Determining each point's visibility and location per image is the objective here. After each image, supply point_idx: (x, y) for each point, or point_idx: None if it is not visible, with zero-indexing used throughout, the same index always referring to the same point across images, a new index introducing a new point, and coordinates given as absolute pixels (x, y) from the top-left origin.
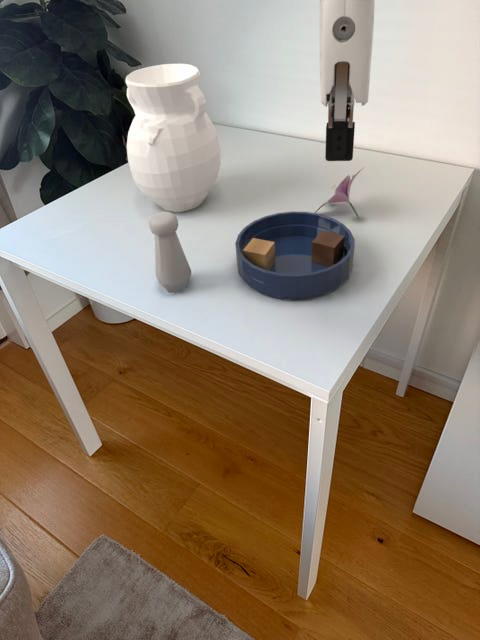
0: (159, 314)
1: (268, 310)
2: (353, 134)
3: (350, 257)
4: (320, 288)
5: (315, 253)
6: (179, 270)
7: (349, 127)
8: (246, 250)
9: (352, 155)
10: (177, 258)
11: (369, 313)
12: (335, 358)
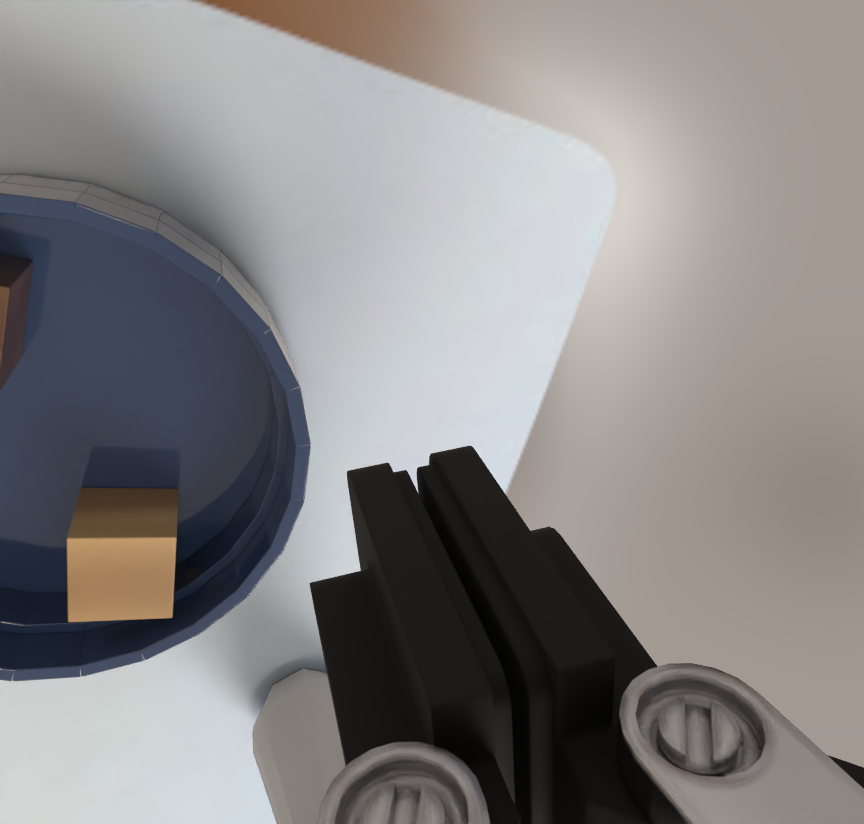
0: None
1: (350, 416)
2: (565, 595)
3: (65, 198)
4: (242, 282)
5: (13, 358)
6: None
7: (720, 700)
8: (169, 606)
9: (478, 462)
10: (342, 763)
11: (275, 65)
12: (522, 161)
